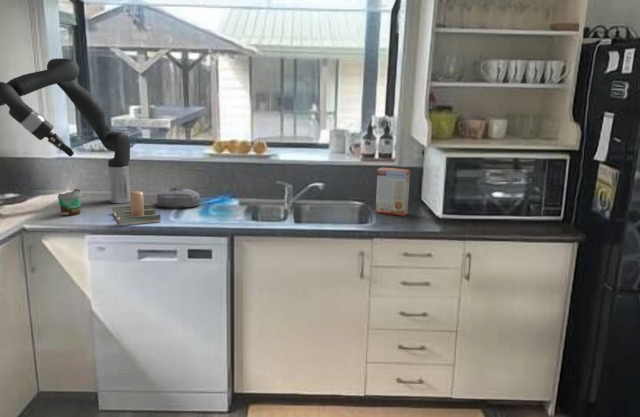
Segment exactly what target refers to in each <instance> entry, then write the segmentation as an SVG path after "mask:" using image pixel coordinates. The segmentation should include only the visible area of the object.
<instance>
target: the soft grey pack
mask: <svg viewBox="0 0 640 417" xmlns="http://www.w3.org/2000/svg"><path fill="white" fill-rule="evenodd" d="M201 200H202V197H201V196H200V193H199V192H197V191H195V190H193V189H189V188H184V187H183V188H182V187H171V188H167V189H161V190H159V192H158V193H157V196H156V203H157V204H156V205H157V206H158V207H160V208H167V209H168V208H169V209H170V208H171V209H186V208H193V207H197V206H200V203H201Z"/></svg>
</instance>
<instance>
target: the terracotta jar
mask: <svg viewBox="0 0 640 417" xmlns="http://www.w3.org/2000/svg"><path fill="white" fill-rule="evenodd" d="M144 199H145V198H144V192H143V191H139V190H138V191H137V190H135V191H130V200H131V201H130V206H131V217H132V216H144V205H145V203H144Z"/></svg>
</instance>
